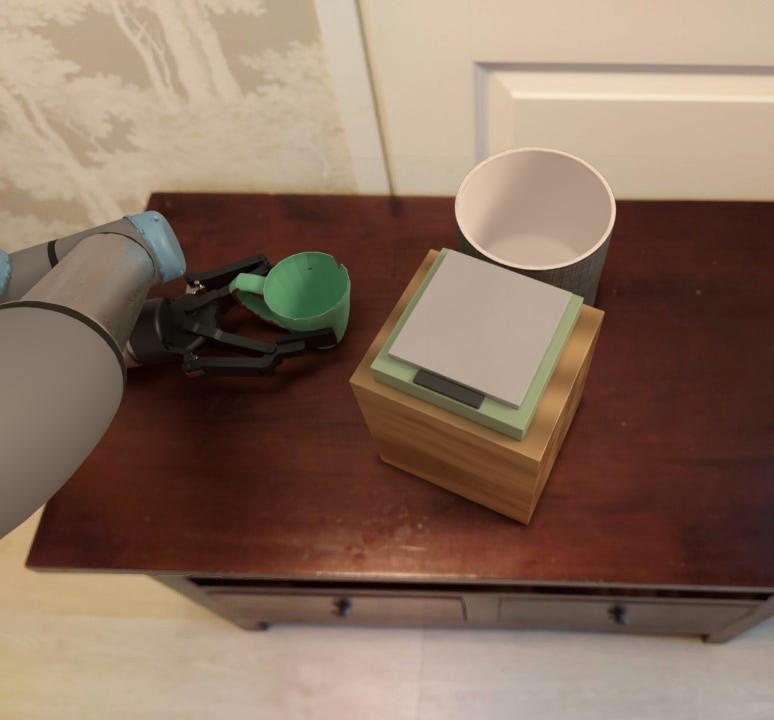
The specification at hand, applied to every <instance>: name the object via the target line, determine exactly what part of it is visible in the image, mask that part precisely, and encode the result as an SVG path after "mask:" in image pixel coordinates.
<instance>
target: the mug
mask: <svg viewBox="0 0 774 720" xmlns="http://www.w3.org/2000/svg"><path fill="white" fill-rule="evenodd" d="M275 265H276V266H275V267H274V268H272V269H271V271H270V272H269V274H268V275H267V277H265V276H264V277H263V276H258V275H253V274H245V273H240V274H239V275H238V276H237V277H236V278H235V279H234V280H233V281H232V282H231V284H230V288H229V290H230V293H231V295H232V296H233V298H234V299H235V300H236V302H237V303H238V304H237V305H239V307H240V308H242V309H243V310H244V311H246V312H248V313H250V314H252V315H253V316H255V317H257V318H259V319H261V320H262V321H264V322H266V323H268V324H270V325H273V326H276V327H278V328H279V327H280V328H282V329H284V330H285V329H286V330H288V331H289V332H290V334H294V333H300V332H305V331H314V330H318V329H323V328H329V327H333V330H334V332H335V335H336V337H337V342H338V344H339V343H340V342H341V340H342V339H343V337H344V335H345V332H346V329H347V326H348V322H349V317H350V308H351V298H350V297H351V296H350V295H351V286H352V285H351V284H352V283H351V280H350V275H349V272H348V269H347V267H346V266H345V265H344V264H343V263H340V265H339V263H338V261H337V259H336V257H335V256H333V255H331V254H328V253H324V252H320V251H304V252H303V251H302V252H300V253H295V254H292V255H290V256H288V257H286V258H284V259H282V260H281V261H280V260H279V262H278V263H277V264H275ZM308 268H312V269H311V270H310V269H308ZM248 292H252V293H255V294H256V295H255V294H252V293H248ZM257 295H261V296H263V299H262V298H260V297H259V296H257ZM335 346H336V345H332V346H326V347H320V348H317V349H318V350H326V349H330V348H333V347H335Z"/></svg>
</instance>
